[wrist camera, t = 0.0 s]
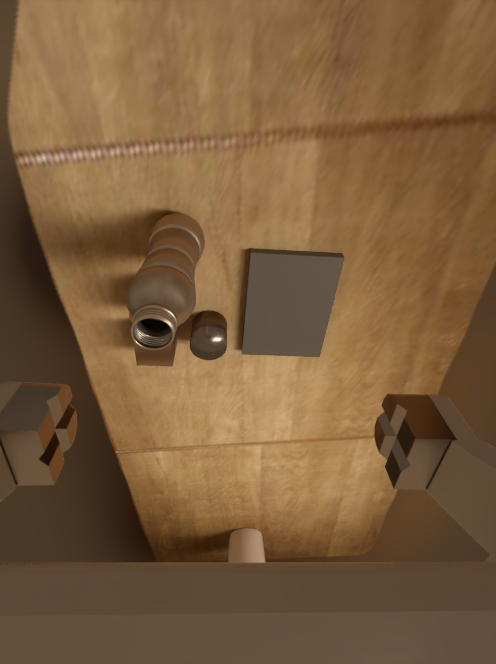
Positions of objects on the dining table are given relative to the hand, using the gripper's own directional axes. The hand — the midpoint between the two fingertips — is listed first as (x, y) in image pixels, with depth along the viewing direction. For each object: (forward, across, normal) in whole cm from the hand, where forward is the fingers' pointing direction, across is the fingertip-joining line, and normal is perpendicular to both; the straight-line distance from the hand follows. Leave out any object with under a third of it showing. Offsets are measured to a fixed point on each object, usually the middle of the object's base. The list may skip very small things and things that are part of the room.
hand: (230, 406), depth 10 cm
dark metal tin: (+41, +2, +23) cm, 47 cm away
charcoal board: (+41, -9, +19) cm, 46 cm away
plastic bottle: (+40, +6, +9) cm, 42 cm away
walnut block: (+42, +10, +24) cm, 49 cm away
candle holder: (+48, -8, +90) cm, 102 cm away
